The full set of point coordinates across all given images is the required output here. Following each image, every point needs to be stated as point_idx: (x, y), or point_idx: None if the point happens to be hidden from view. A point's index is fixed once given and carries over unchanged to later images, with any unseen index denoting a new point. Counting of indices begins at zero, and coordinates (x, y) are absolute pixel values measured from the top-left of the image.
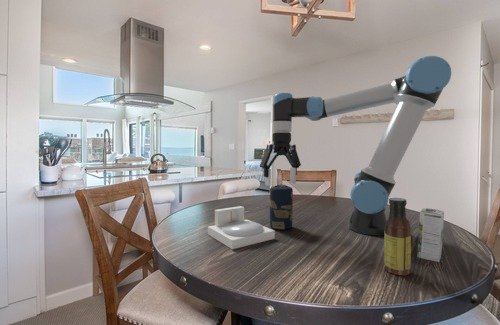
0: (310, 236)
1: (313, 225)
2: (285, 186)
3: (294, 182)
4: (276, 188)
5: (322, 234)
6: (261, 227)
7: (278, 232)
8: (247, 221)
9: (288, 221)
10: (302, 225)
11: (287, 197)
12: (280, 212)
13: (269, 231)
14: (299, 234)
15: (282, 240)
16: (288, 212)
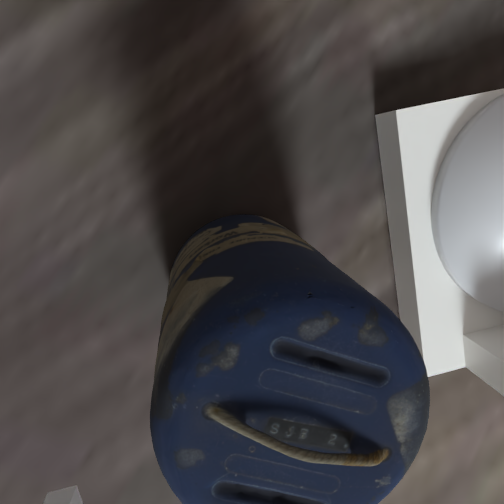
0: (161, 61)
1: (12, 245)
2: (223, 461)
3: (68, 498)
4: (408, 364)
5: (62, 61)
6: (467, 149)
7: (299, 202)
8: (476, 293)
9: (233, 221)
10: (87, 270)
11: (277, 258)
12: (306, 242)
13: (430, 107)
14: (204, 122)
15: (349, 72)
16: (242, 230)
